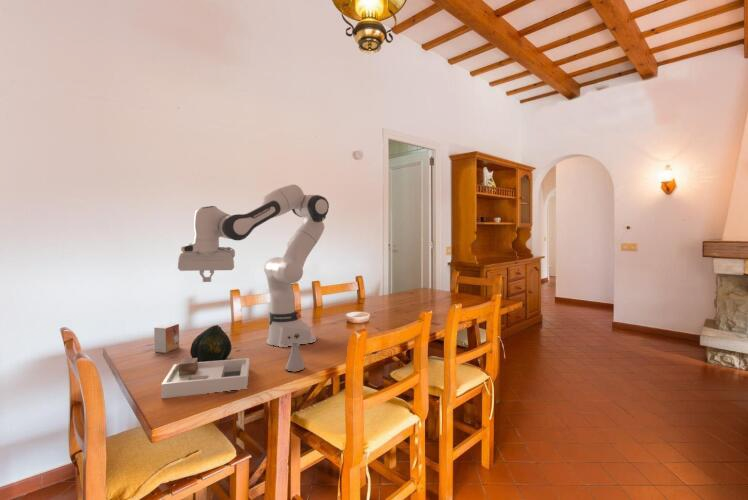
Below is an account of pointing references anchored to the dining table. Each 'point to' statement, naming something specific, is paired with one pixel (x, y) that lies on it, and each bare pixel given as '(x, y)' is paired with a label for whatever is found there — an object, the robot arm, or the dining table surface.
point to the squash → (211, 345)
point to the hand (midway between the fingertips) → (207, 281)
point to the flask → (295, 358)
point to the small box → (166, 337)
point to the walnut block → (188, 366)
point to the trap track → (207, 378)
